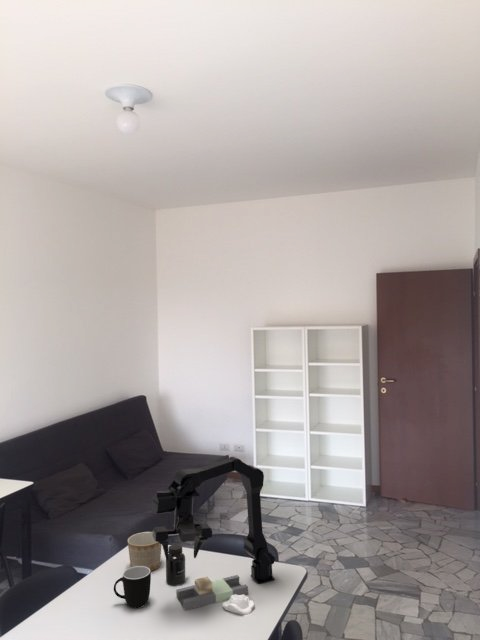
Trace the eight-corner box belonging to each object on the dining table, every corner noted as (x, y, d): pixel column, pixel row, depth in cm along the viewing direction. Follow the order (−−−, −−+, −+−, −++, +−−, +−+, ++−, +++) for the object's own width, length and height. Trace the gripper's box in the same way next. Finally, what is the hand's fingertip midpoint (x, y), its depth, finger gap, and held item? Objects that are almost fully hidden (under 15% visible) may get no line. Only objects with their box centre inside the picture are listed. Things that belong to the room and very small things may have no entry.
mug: (152, 595, 177) (151, 565, 177) (150, 609, 168) (149, 578, 168) (116, 597, 176) (115, 567, 176) (111, 612, 167) (110, 580, 167)
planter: (159, 574, 192) (158, 545, 192) (124, 574, 192) (124, 546, 192) (165, 558, 204) (164, 531, 204) (132, 559, 205) (131, 532, 205)
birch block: (207, 585, 178) (207, 576, 178) (212, 591, 174) (212, 582, 173) (195, 588, 176) (194, 579, 176) (199, 594, 172) (199, 585, 172)
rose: (224, 604, 163) (220, 588, 172) (225, 618, 163) (220, 602, 172) (256, 600, 164) (250, 585, 174) (256, 614, 164) (250, 598, 174)
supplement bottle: (182, 586, 182) (181, 551, 182) (163, 585, 184) (162, 550, 184) (188, 577, 189) (187, 543, 189) (170, 575, 190) (169, 542, 190)
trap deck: (237, 582, 184) (237, 574, 184) (248, 594, 176) (247, 586, 176) (176, 597, 176) (176, 589, 176) (184, 610, 167) (184, 602, 167)
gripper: (160, 520, 162) (157, 572, 161) (218, 516, 168) (216, 566, 168) (153, 509, 172) (150, 557, 171) (208, 505, 179) (205, 552, 178)
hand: (181, 559), depth 172 cm, fingers open, 9 cm apart
